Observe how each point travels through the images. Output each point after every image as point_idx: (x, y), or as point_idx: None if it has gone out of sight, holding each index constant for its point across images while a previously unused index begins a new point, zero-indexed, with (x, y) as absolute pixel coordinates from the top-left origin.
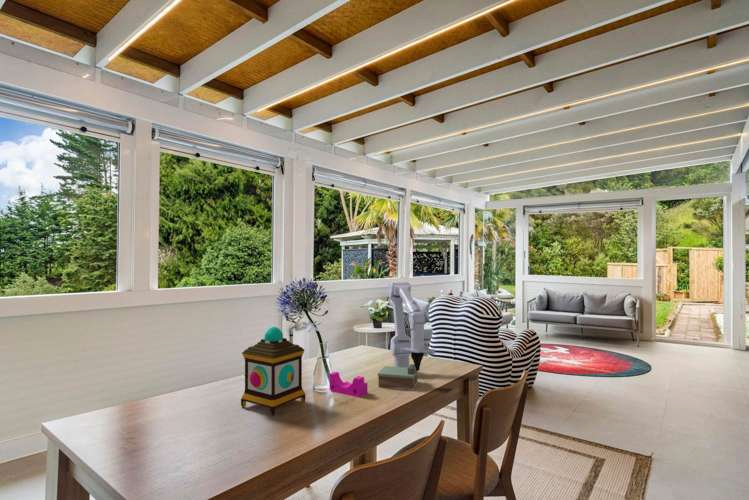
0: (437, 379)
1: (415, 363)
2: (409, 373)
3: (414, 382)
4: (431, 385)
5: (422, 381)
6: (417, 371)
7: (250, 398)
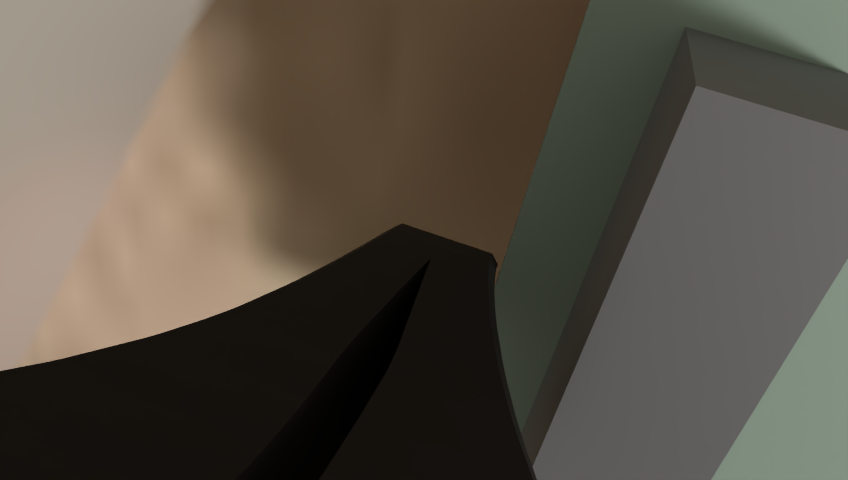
0: None
1: (446, 374)
2: (782, 57)
3: None
4: (255, 157)
5: None
6: None
7: None
